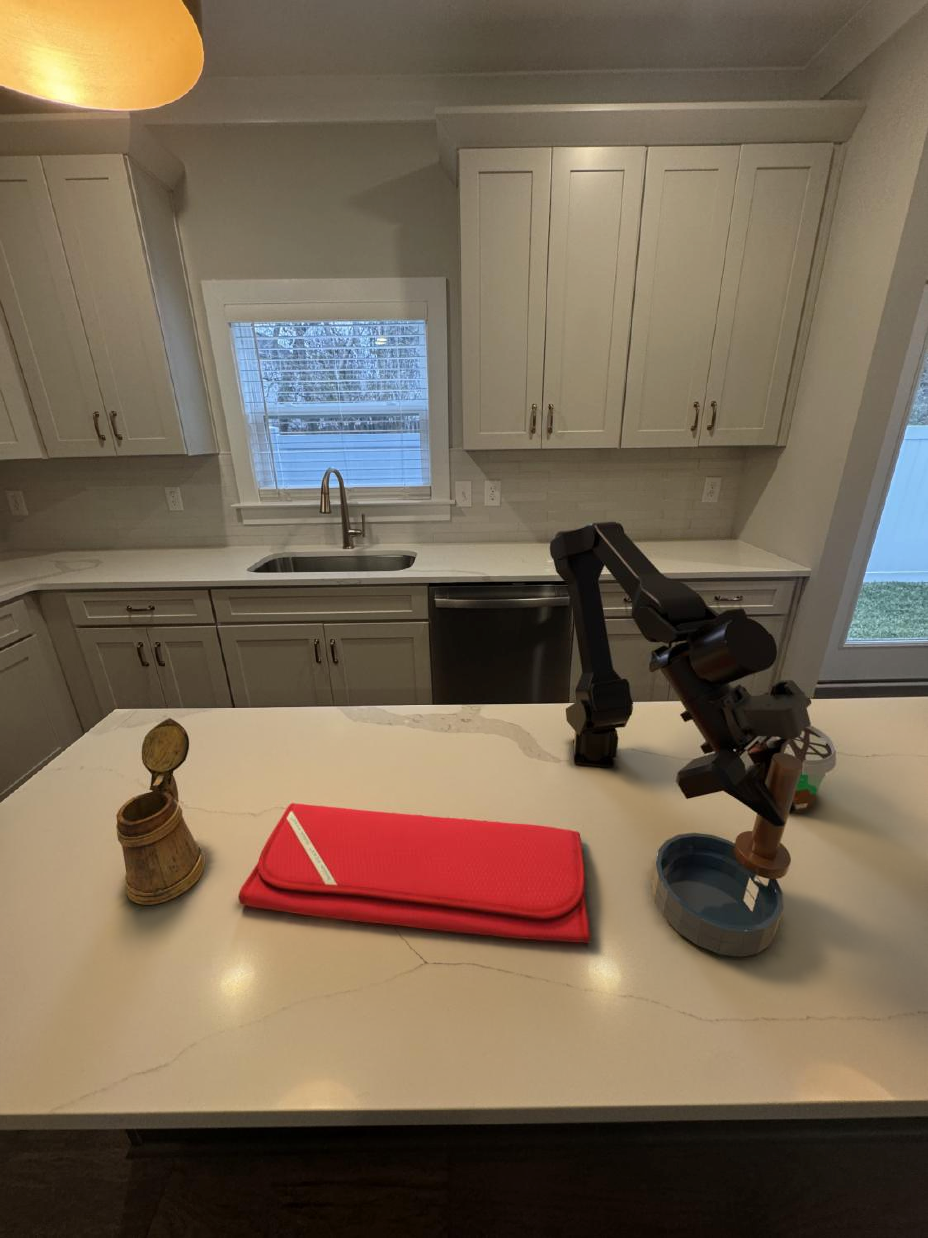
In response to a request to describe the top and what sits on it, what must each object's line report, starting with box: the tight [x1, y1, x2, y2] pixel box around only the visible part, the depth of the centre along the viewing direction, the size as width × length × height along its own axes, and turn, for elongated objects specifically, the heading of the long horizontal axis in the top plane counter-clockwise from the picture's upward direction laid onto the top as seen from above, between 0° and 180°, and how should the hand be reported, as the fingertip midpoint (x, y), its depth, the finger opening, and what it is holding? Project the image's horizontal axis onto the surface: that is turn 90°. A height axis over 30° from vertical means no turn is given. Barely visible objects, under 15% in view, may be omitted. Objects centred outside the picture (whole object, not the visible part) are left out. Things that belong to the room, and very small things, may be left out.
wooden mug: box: [115, 717, 206, 906], centre depth 64 cm, size 9×14×18 cm, turn 1°
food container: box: [776, 724, 837, 814], centre depth 75 cm, size 12×6×10 cm, turn 168°
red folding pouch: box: [238, 802, 591, 944], centre depth 64 cm, size 16×41×4 cm, turn 83°
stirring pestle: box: [733, 753, 803, 880], centre depth 56 cm, size 6×6×14 cm
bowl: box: [651, 832, 784, 958], centre depth 59 cm, size 13×13×4 cm
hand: (786, 818), depth 55 cm, fingers closed on stirring pestle, 3 cm apart
